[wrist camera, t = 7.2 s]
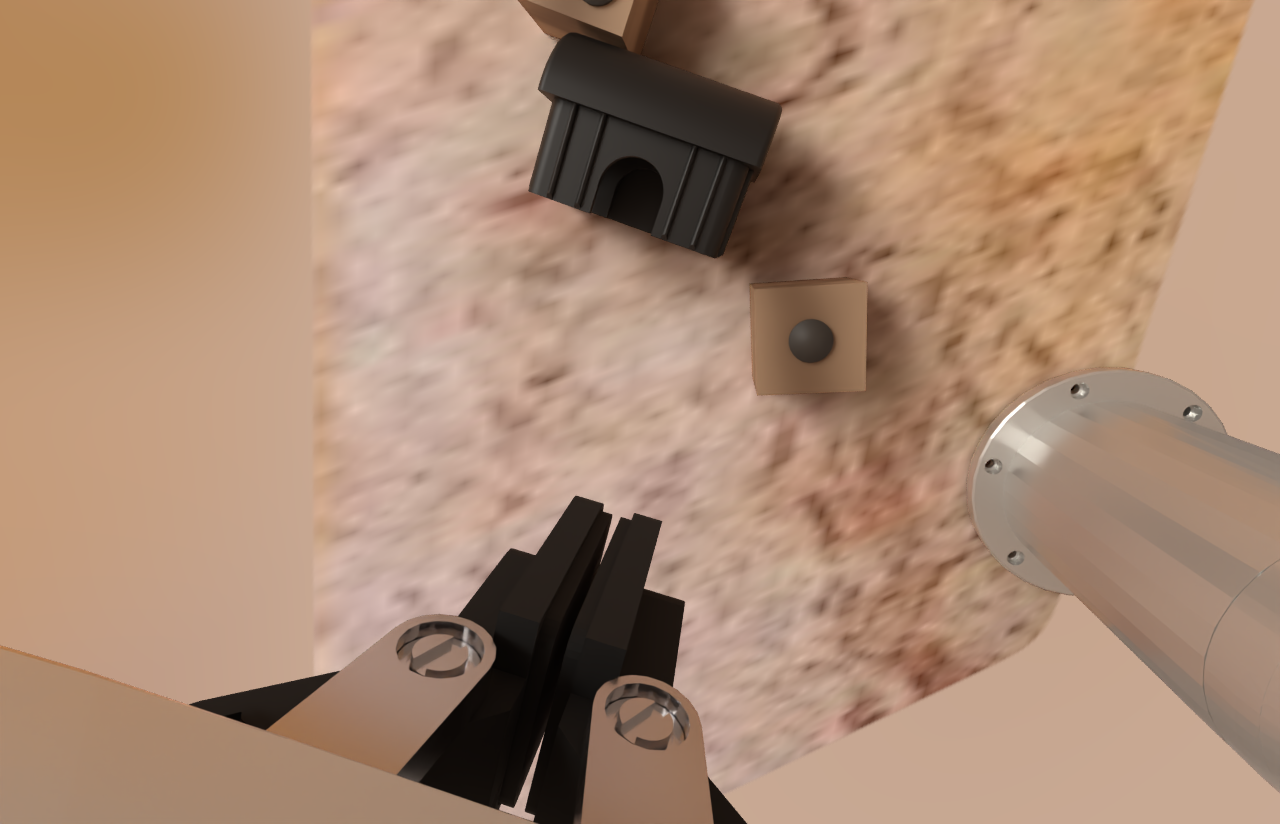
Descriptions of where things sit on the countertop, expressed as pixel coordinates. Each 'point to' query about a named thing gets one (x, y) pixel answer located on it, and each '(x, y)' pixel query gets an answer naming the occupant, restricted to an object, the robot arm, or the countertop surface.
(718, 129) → the black arched block
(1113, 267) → the countertop surface
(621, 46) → the marked block
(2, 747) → the robot arm
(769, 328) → the marked block
